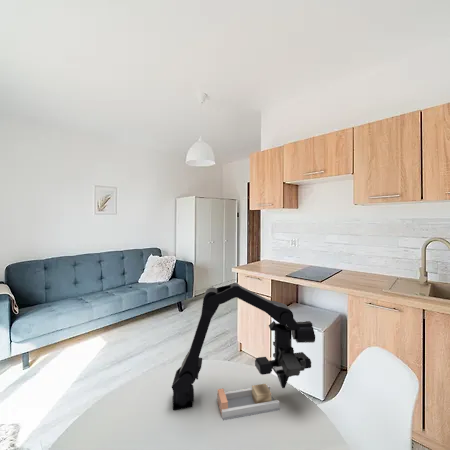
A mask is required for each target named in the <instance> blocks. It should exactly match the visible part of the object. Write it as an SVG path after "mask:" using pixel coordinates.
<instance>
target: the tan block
mask: <svg viewBox="0 0 450 450" xmlns="http://www.w3.org/2000/svg"><path fill="white" fill-rule="evenodd" d="M251 388H252V398H253V400H254V402H255V404H258V403H264V402H269V401H271V395H272V392H271V389H270V390H269V388H268V387H267V383H262V384H261V383H260V384H254V385H251Z"/></svg>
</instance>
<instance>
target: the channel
mask: <svg viewBox="0 0 450 450" xmlns="http://www.w3.org/2000/svg"><path fill="white" fill-rule="evenodd" d="M266 385H267V384H266ZM267 387H268V388H269V390H270V391H271V387H270V385H269V384H268V385H267ZM216 402H217V404H218V407H219V412H220V416H221V418H222V421H227V420H232V419H233V420H234V419H240V418H245V417H251V416H256V415H261V414H267V413H272V412H277V411H281V408H280V400H278V399H276V400H275V399H274V397H273V396H272V394H271V401H269V402H264V403H258V404H255V402H254V400H253V398H252V387H249V388H243V389H235V390H229V391H225V389H224V388H218V389H217V392H216Z"/></svg>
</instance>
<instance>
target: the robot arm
mask: <svg viewBox="0 0 450 450" xmlns="http://www.w3.org/2000/svg"><path fill="white" fill-rule="evenodd" d="M235 298H237V299H238V300H241V301H243V302H244V303H247V304H249V305H250V306H253V307H254V308H257V309H259V310H261V311H262V312H265V313H266V314H268V316H269V317H271V318H272V319H273V321H272V322H271V323H270V324H269V325H268V328H269V330H270V331H272V332H273V331H274V341H272V345H273V347H274V352H273V353H272V356H273V358H274V359H273V360H272V359H270V360H269V359H268V357H267V356H261V357H260V356H259V357H256V358H255V359H254V366H255V368H256V369H257V371H258V372H259V374H260V375H262V376H263V375H269V374H271V373H272V372H273V371H274V373H275V374H276V375H277V378H278V381H279V384H280V386H281V389H286V387H287V383H288V380H289V378H290V377H294V376H297V377H298V376H300V373H301V371H302V372H303V371H305V370H306V369H311V368H312V360H311V358H310V357H308V356H307V355H306V354H305V353H304V352H303V351H301V352H300V351H299V352H295V349H294V347H293V346H292V340H295V343H297V344H298V343H301V344H303V343H305V344H306V343H307V344H309V343H312V344H313V343H315V342H316V334H315V329H314V327H313V323H312V322H311V321H310V320H308V321H307V320H306V321H297V320H296V319H295V318H294V312H293V310H291V309H290V308H289V307H288V306H287V304H285V303H282V302H279V301H276V300H270V299H267V298H266V297H263V296H261V295H259V294H258V293H255V292H253V291H251V290H250V289H247V288H246V287H243V286H242V285H240V284H239V283H237V282H234V283H231V284H228V285H224V286H218V287H214V286H213V287H209V288H207V289H206V290H205V292H204V296H203V300H202V306H201V308H202V309H201V315H200V318H199V320H198V324H197V326H196V330H195V333H194V335H193V339H192V342H191V344H190V349H189V351H187V353H186V354H185V357H184V359H183V361H182V363H181V366H180V367H179V368H178V369H177V370H176V371H175V374H174V378H173V382H172V385H171V390H172V410H173V411H177V410H179V411H180V410H184V409H190V408H193V406H194V403H193V402H194V401H195V399H194V398H195V393H194V392H195V389H194V385H193V384H194V383H195V381H196V380H198V379H199V374H200V371H201V370H202V366H203V365H202V364H203V357H200V354H201V352H202V349H203V345H204V342H205V339H206V336H207V333H208V330H209V327H210V324H211V321H212V319H213V316H214V315H215V314H216V312H217V310H218V308H219V306H220V305H222V304H225V303H227V302H229V301H231V300H234V299H235ZM275 321H276V322H275Z"/></svg>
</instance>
